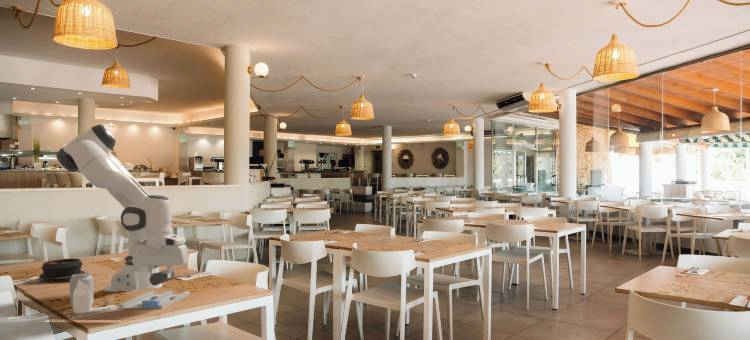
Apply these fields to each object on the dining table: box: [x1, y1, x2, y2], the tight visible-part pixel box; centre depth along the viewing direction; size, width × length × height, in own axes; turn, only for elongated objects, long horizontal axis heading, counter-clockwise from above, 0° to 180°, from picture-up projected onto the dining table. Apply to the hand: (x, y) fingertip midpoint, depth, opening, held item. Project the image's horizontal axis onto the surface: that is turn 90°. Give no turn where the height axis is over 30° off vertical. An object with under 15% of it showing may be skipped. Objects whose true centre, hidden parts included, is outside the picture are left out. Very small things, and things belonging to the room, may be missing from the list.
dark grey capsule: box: [149, 268, 176, 285], centre depth 188 cm, size 10×4×4 cm, turn 172°
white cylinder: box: [72, 280, 93, 314], centre depth 178 cm, size 6×12×6 cm
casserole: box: [38, 258, 86, 282], centre depth 243 cm, size 25×19×8 cm
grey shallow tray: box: [118, 290, 191, 310], centre depth 190 cm, size 16×20×3 cm
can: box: [69, 272, 95, 309], centre depth 188 cm, size 8×8×12 cm
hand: (160, 277), depth 187 cm, fingers closed on dark grey capsule, 4 cm apart
